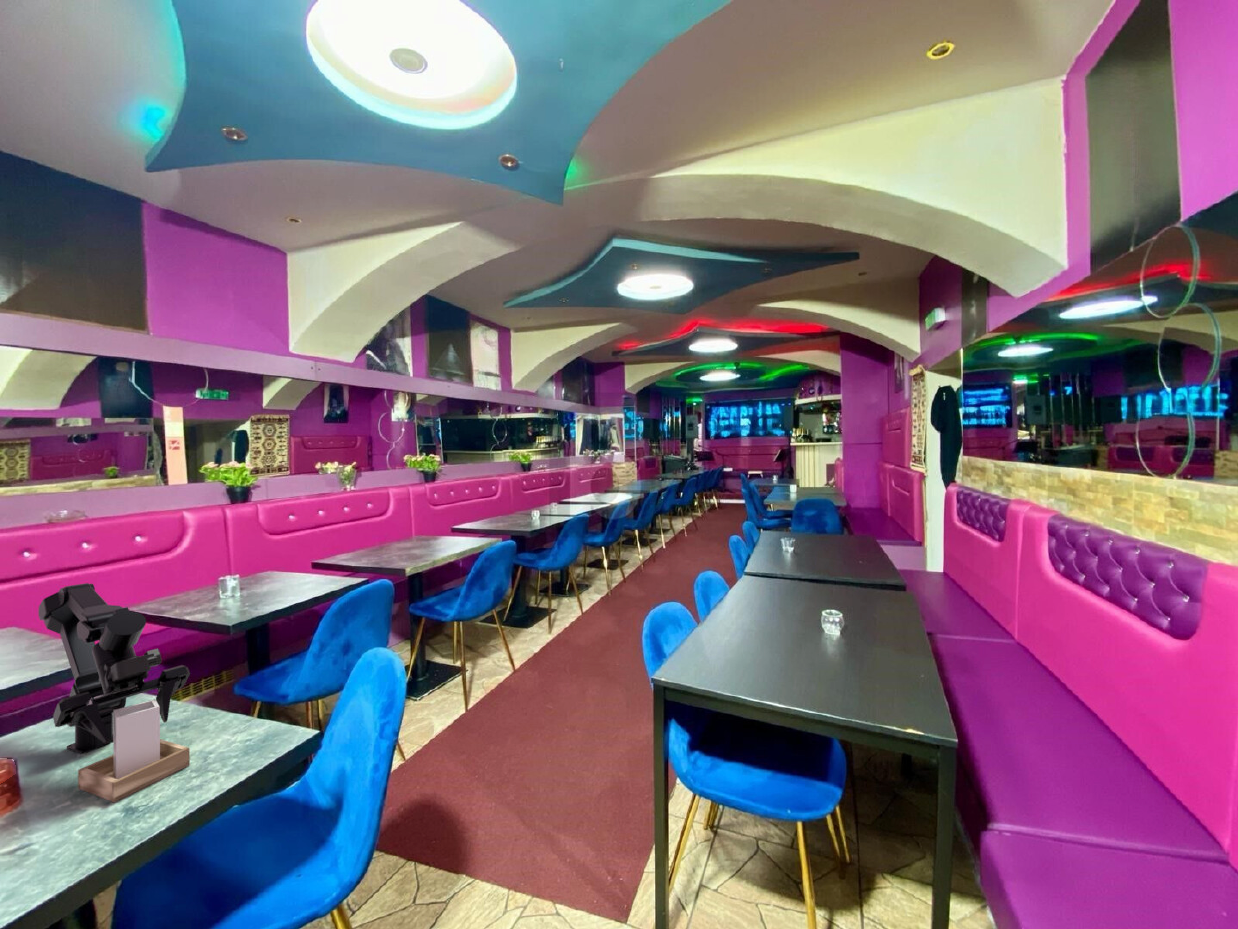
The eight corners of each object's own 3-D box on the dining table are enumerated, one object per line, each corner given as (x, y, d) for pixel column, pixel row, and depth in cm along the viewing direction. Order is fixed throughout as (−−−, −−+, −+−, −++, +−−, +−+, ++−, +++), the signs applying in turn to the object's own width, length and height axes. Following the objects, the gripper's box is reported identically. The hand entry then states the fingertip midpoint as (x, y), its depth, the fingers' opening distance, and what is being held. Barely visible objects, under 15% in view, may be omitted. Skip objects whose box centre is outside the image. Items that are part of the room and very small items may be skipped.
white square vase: (113, 773, 95) (113, 710, 96) (155, 759, 100) (155, 699, 100) (116, 784, 91) (116, 718, 92) (160, 768, 96) (159, 706, 96)
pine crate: (78, 788, 92) (78, 769, 92) (154, 754, 103) (154, 737, 103) (114, 802, 88) (114, 783, 88) (189, 765, 99) (189, 748, 99)
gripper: (57, 656, 90) (76, 733, 84) (186, 627, 106) (209, 689, 100) (45, 689, 93) (63, 764, 88) (171, 656, 110) (192, 718, 104)
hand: (137, 731), depth 95 cm, fingers open, 8 cm apart
